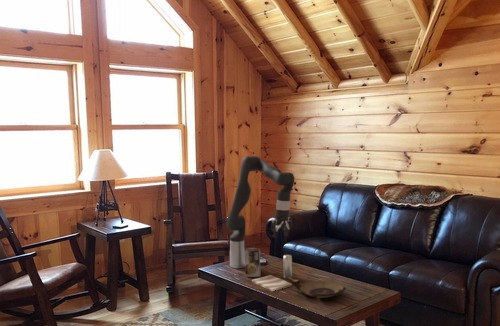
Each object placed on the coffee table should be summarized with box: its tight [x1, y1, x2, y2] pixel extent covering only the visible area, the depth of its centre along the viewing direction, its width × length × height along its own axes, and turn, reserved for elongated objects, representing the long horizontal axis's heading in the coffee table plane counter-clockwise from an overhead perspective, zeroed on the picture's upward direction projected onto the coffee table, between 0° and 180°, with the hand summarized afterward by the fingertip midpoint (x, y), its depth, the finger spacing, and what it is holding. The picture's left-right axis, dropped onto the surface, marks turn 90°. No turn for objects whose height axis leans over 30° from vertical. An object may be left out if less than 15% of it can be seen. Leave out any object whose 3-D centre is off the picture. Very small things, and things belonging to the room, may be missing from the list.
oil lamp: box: [287, 277, 347, 299], centre depth 230 cm, size 22×30×8 cm
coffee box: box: [244, 247, 261, 278], centre depth 262 cm, size 9×6×16 cm
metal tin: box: [282, 254, 293, 280], centre depth 257 cm, size 5×5×13 cm
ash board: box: [251, 274, 293, 292], centre depth 247 cm, size 19×14×1 cm
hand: (280, 236), depth 241 cm, fingers open, 8 cm apart
